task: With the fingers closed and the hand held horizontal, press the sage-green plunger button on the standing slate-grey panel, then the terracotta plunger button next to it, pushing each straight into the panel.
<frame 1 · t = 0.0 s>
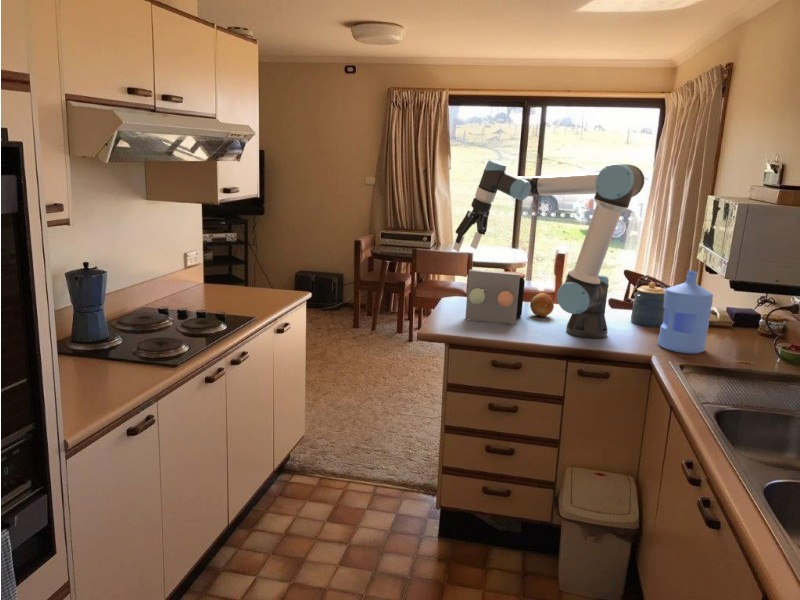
hand: (464, 248, 247), 28 cm above the worktop, tool tilted 20°, fingers open, 13 cm apart
panel: (490, 321, 246), on the worktop
sage button: (478, 294, 243), point 11 cm above the worktop, slide at 0.0 cm
onion: (540, 316, 260), on the worktop
canister: (646, 323, 256), on the worktop
coffee jar: (508, 316, 258), on the worktop
terracotta button: (506, 297, 240), point 11 cm above the worktop, slide at 0.0 cm
water jug: (680, 348, 222), on the worktop
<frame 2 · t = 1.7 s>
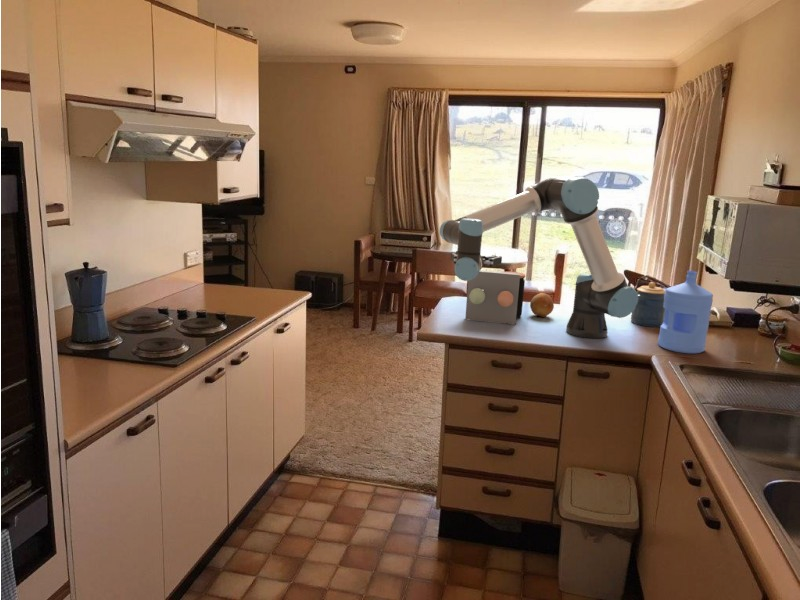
hand: (478, 255, 229), 28 cm above the worktop, tool horizontal, fingers open, 11 cm apart
nothing on the worktop moved.
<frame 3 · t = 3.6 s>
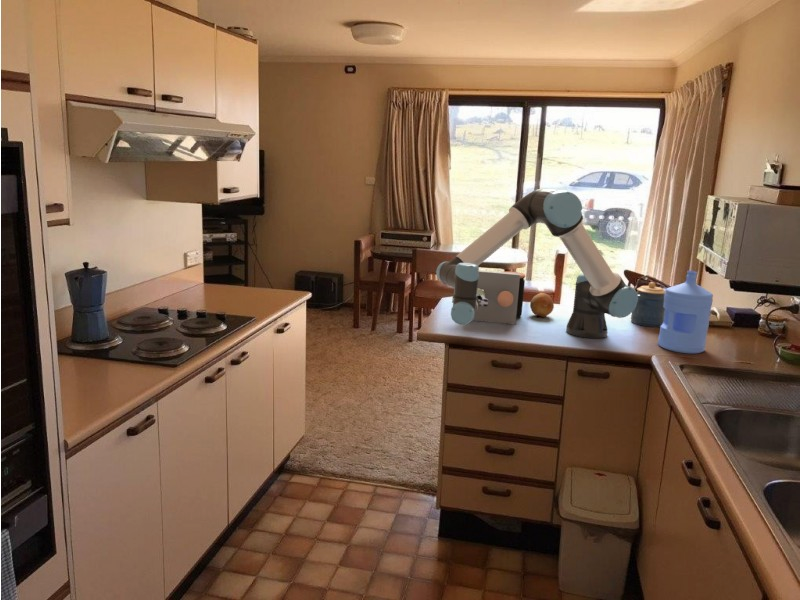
hand: (474, 292, 233), 14 cm above the worktop, tool horizontal, fingers closed
nothing on the worktop moved.
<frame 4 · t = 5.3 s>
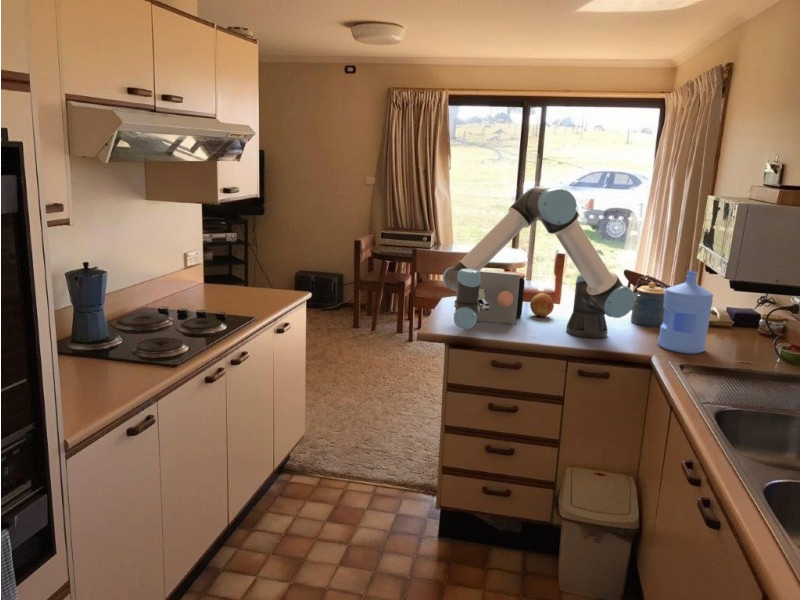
hand: (476, 296, 239), 11 cm above the worktop, tool horizontal, fingers closed
sage button: (478, 294, 243), point 11 cm above the worktop, slide at 0.4 cm, touching gripper
everything else where it was.
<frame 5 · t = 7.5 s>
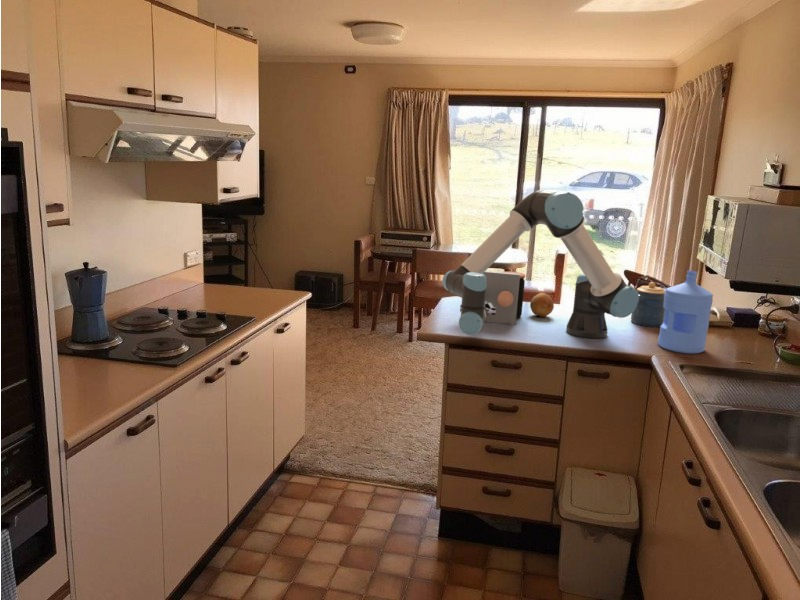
hand: (482, 300, 233), 11 cm above the worktop, tool horizontal, fingers closed
sage button: (478, 293, 245), point 11 cm above the worktop, slide at 2.8 cm
everything else where it was.
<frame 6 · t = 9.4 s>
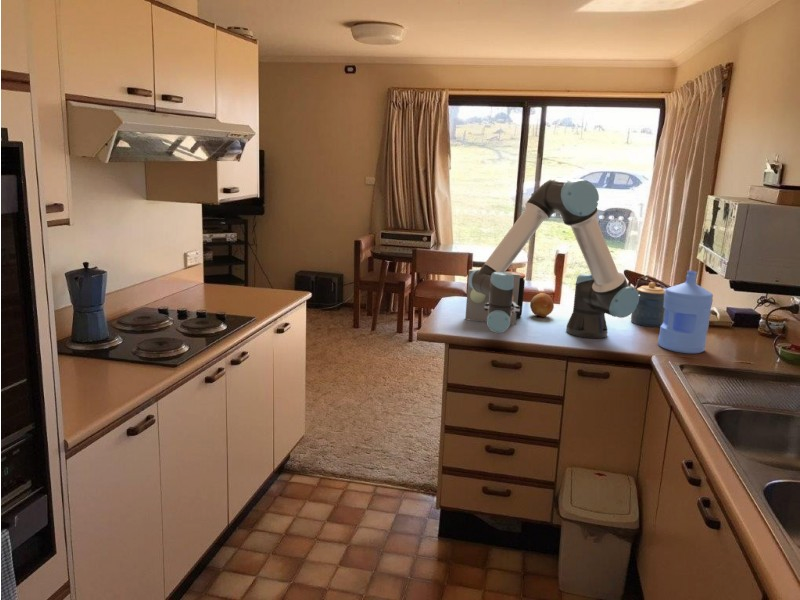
hand: (504, 299, 237), 11 cm above the worktop, tool horizontal, fingers closed
terracotta button: (506, 297, 241), point 11 cm above the worktop, slide at 0.3 cm, touching gripper
everything else where it was.
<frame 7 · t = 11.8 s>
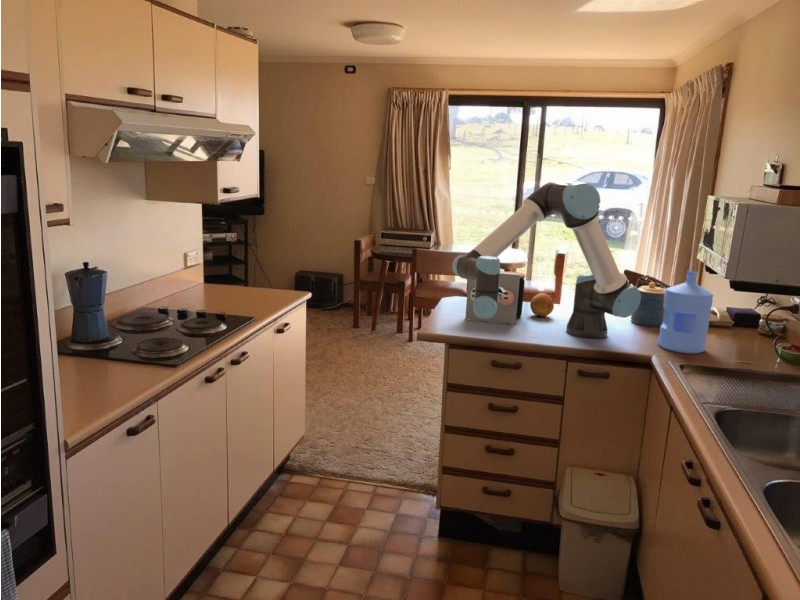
hand: (493, 285, 230), 17 cm above the worktop, tool horizontal, fingers closed
terracotta button: (506, 295, 243), point 11 cm above the worktop, slide at 2.9 cm
everything else where it was.
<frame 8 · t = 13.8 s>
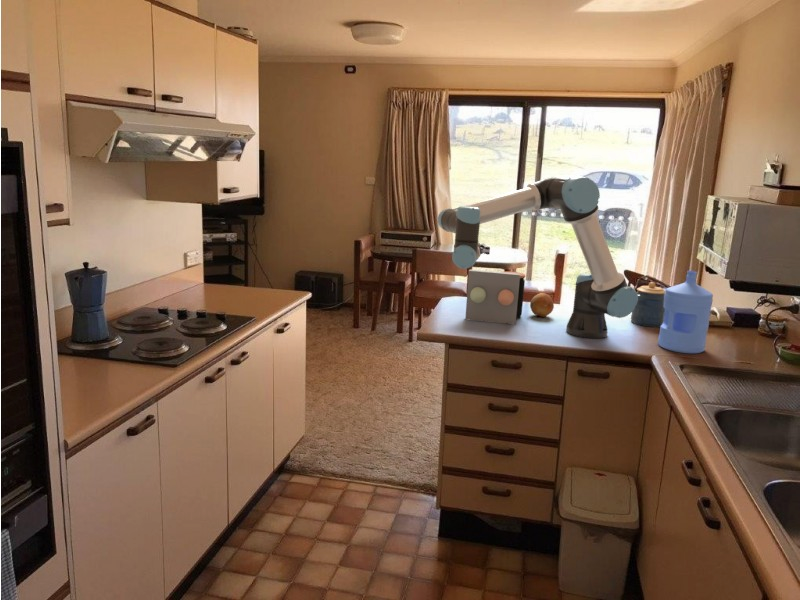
hand: (476, 244, 230), 32 cm above the worktop, tool horizontal, fingers closed
nothing on the worktop moved.
at the end: sage button slide at 2.8 cm; terracotta button slide at 2.9 cm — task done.
